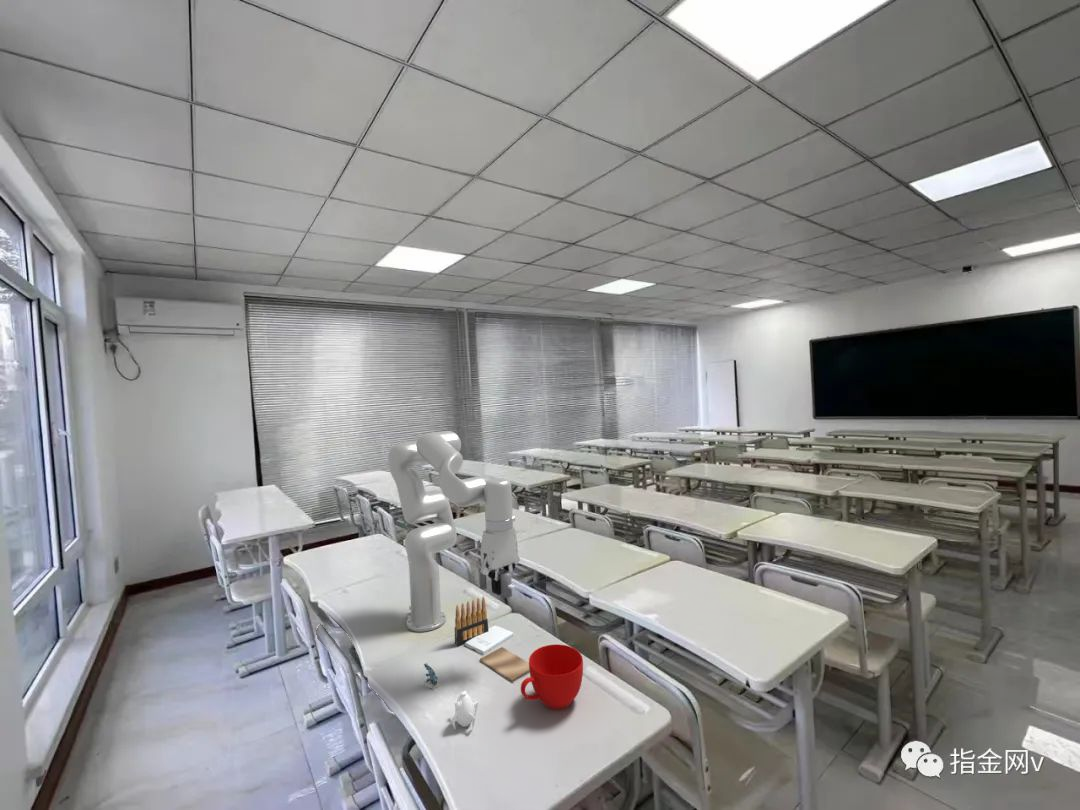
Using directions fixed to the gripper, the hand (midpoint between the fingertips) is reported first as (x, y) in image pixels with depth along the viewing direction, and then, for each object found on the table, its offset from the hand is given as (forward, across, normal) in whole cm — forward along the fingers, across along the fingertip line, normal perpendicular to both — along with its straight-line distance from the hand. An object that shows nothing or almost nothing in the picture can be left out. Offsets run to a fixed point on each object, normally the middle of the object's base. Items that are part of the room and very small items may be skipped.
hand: (501, 590), depth 123 cm
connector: (+1, 0, 0) cm, 1 cm away
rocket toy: (+20, +21, +12) cm, 31 cm away
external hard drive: (+21, -4, -12) cm, 25 cm away
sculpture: (+21, +19, -7) cm, 29 cm away
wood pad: (+20, 0, +1) cm, 20 cm away
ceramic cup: (+20, +3, +21) cm, 30 cm away
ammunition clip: (+20, -1, -17) cm, 27 cm away
